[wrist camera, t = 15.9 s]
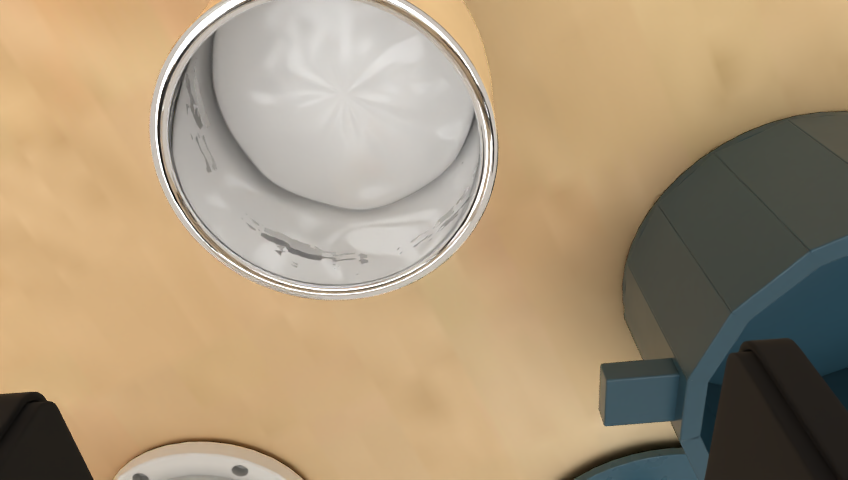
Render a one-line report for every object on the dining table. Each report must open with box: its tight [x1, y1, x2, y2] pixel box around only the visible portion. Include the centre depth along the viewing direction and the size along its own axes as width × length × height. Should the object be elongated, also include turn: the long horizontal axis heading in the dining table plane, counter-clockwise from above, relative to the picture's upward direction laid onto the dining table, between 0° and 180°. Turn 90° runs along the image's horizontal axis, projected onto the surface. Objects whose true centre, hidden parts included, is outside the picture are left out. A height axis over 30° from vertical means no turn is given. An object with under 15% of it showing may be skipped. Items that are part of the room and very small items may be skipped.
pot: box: [599, 111, 848, 480], centre depth 28 cm, size 16×21×8 cm
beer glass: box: [149, 0, 498, 300], centre depth 19 cm, size 7×7×15 cm
